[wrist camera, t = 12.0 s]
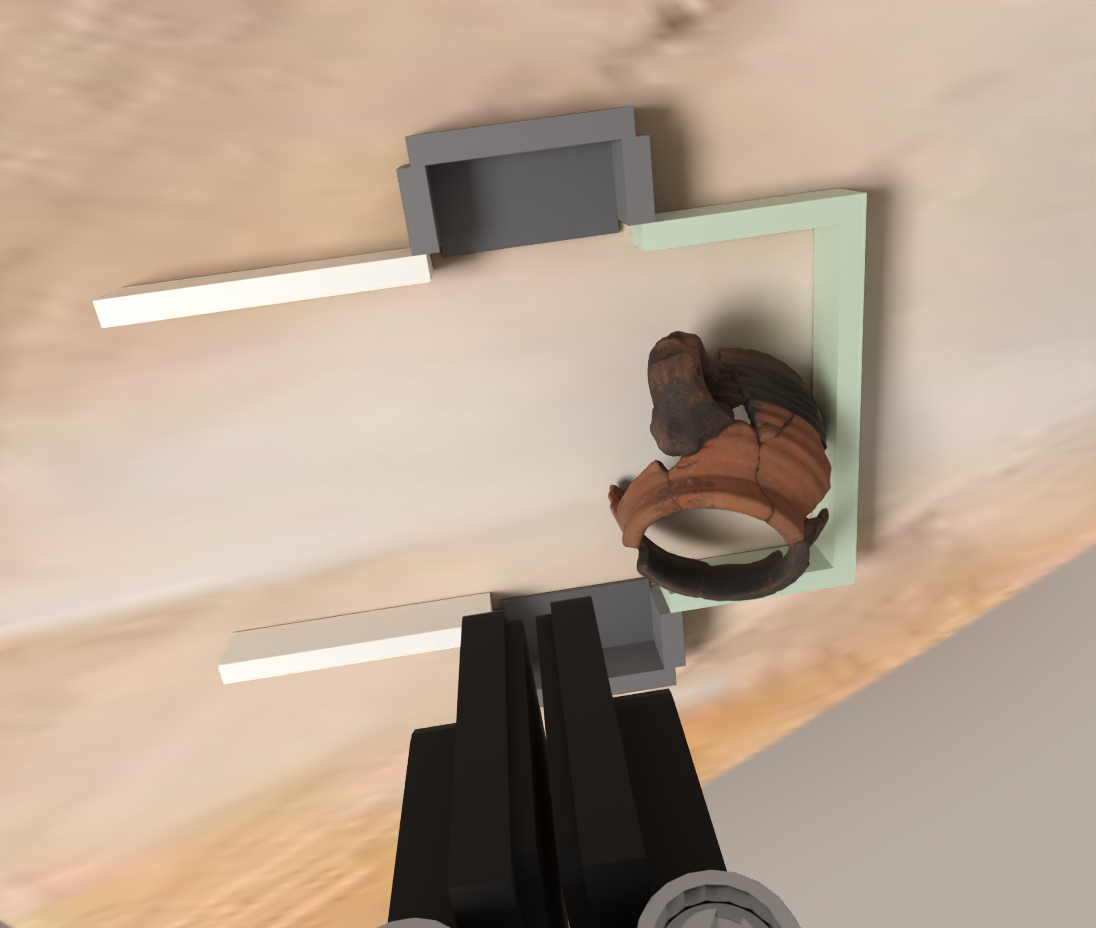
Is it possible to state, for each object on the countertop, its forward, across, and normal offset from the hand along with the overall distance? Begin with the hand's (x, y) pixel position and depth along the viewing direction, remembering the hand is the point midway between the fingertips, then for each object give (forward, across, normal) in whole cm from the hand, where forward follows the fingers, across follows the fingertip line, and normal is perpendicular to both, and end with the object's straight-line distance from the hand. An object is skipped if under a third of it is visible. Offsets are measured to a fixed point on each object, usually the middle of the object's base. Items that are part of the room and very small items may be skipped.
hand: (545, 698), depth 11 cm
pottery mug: (+25, -7, +7) cm, 27 cm away
